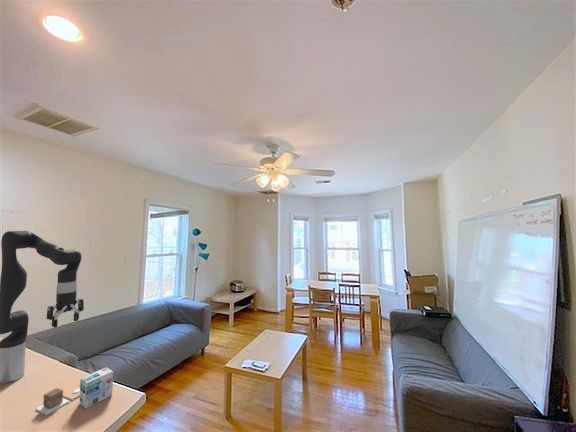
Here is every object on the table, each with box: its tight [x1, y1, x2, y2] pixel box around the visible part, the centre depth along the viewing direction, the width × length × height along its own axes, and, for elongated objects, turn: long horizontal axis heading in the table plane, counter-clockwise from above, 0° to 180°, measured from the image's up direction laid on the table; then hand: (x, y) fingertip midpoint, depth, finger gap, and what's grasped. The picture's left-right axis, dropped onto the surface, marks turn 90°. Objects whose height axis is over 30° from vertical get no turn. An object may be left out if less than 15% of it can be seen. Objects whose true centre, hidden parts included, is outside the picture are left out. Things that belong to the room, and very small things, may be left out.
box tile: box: [35, 397, 71, 415], centre depth 109 cm, size 8×8×1 cm
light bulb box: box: [79, 366, 114, 409], centre depth 113 cm, size 11×7×11 cm, turn 148°
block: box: [42, 387, 64, 409], centre depth 109 cm, size 4×4×5 cm
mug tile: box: [63, 384, 80, 401], centre depth 117 cm, size 8×8×1 cm
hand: (65, 323), depth 124 cm, fingers open, 8 cm apart
